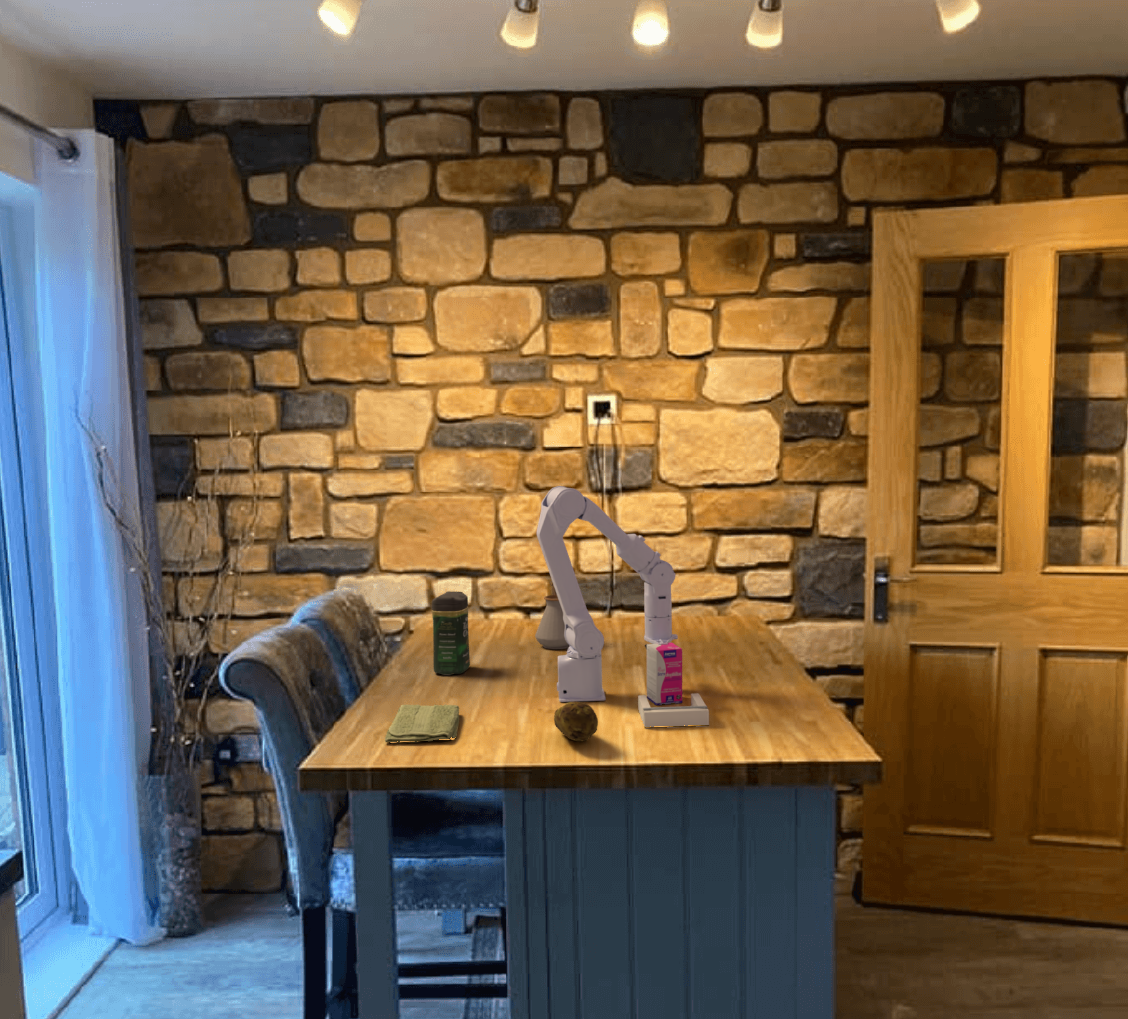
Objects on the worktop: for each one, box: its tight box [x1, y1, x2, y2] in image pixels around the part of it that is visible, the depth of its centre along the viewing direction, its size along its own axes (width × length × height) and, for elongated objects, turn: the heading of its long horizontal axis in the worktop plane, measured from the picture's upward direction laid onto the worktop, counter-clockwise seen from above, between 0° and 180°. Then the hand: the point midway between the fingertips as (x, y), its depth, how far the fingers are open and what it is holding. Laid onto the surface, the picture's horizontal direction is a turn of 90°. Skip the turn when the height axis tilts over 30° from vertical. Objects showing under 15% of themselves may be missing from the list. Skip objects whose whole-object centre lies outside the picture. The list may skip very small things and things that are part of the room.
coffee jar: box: [431, 591, 471, 676], centre depth 219 cm, size 10×8×19 cm
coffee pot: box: [534, 580, 570, 650], centre depth 246 cm, size 21×12×15 cm, turn 3°
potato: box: [553, 701, 599, 742], centre depth 167 cm, size 8×13×8 cm, turn 176°
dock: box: [637, 692, 710, 727], centre depth 179 cm, size 12×11×3 cm
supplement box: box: [646, 642, 683, 706], centre depth 190 cm, size 6×6×12 cm
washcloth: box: [384, 704, 460, 743], centre depth 177 cm, size 13×18×3 cm
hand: (659, 678), depth 199 cm, fingers closed
